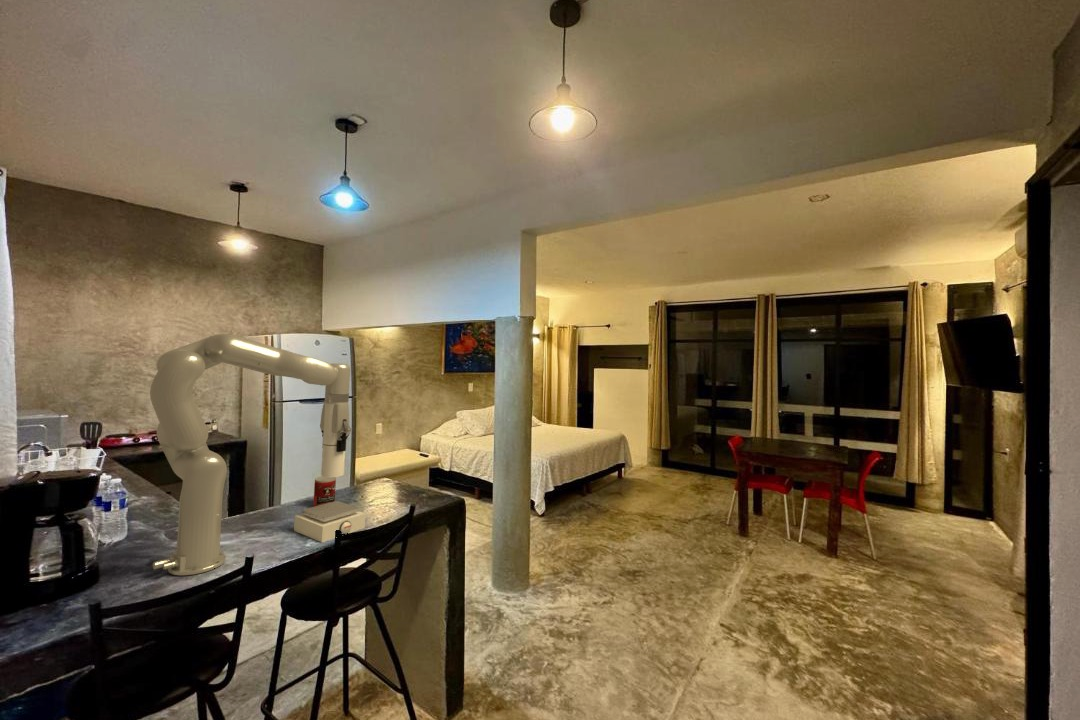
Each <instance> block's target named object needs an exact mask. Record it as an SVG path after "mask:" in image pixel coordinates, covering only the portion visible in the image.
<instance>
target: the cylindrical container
mask: <svg viewBox="0 0 1080 720" xmlns="http://www.w3.org/2000/svg"><path fill="white" fill-rule="evenodd" d="M333 408H334V404H327V403H325V416H324V434H323V437H322V447H323V448H322V455H321V470H320V471H321V472H320V477H321V476H322V477H329V478H331V477H336V478H338V477H342V476H344V475H345V460H346V458H345V457H346V451H342V452H337V451H336V448H337V440H338V436H337V433H333V432H331V431H332V415H333ZM340 431H344V427H343V425H342V428H341V430H340ZM342 434H343V433H341V435H342Z"/></svg>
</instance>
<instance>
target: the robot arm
mask: <svg viewBox="0 0 1080 720" xmlns="http://www.w3.org/2000/svg"><path fill="white" fill-rule="evenodd" d="M219 364H227V365H231V366H235V367H238V368H244V369H246V370H251V371H255V372H257V373H258V372H259V373H261V374H267V375H272V376H277V377H287V378H292V379H297V380H301V381H303V382H304V383H306V384H310V385H316V386H317V385H318V386H325V387H324V388H325V389H324V390H325V391H324V392H325V393H324V402H323V405H322V409H321V414H320V424H319V428H320V430H321V431H320V432H321V434H322V438H323V434H324V416H325V403H327V404H334V408H333V415H332V431H331V432H333V433H337V436H338V440H337V448H336V451H337V452H342V451H345V452H346V450H347V440H348V437H349V436H350V433H351V432H352V428H351V426H350V407H349V398H350V395H349V394H350V381H351V378H350V377H351V367H350V365H349V364H348V363H347V364H346V363H335V362H334V363H329V362H326V361H323V360H321V359H317V358H313V357H310V356H307V355H302V354H300V353H299V354H298V353H296V352H292V351H289V350H286V349H281V348H279V347H276V346H272V345H268V344H266V343H262V342H258V341H256V340H252V339H249V338H246V337H242V336H238V335H235V334H230V333H225V334H224V333H222V334H214V335H210V336H209V337H205V338H203V339H200V340H197V341H195V342H190V343H189V344H185V345H182V346H179V347H178V348H174V349H171V350H168V351H166V352H165V353H163V354H161V356H160V357H159V358H158V359H157V362H156V370H157V372H156V374H155V375H154V377H153V379H152V383H151V385H150V388H149V389H150V391H149V396H150V402H151V404H152V407H153V410H154V412H155V415H156V418H157V420H158V422H159V424H158V425H157V428H156V436H157V440H158V443H159V445H160V447H161V449H162V451H163V454H164V455H165V457H166V460H167V462H168V464H169V465H170V468H171V469H172V472H173V473H174V475H176V476H177V477H178V478H180V480H182V486H181V491H180V494H179V495H180V496H179V502H178V503H179V505H178V523H177V525H178V526H177V540H176V551H172V552H171V555H170V556H168V557H167V558H165V559H159V560H157V561H154V562H152V569H153V570H154V571H155V570H158V569H161V568H162V569H163V570H167V572H168V573H169V574H170V575H172V576H191V575H197V574H202V573H205V572H209V571H212V570H215V569H217V568H219V567H220V566H222V565H223V564H224V563H225V562H226V561H227V560H226V559H227V555H226V554H225V553H224V552H220V549H221V547H220V546H221V535H222V534H221V532H222V531H221V530H222V513H223V498H224V497H223V496H224V487H225V483H226V478H227V474H228V473H227V472H228V467H227V463H226V461H225V459H224V458H223V457H222V456H221V455H220V454H219V453H217V452H214V451H212V450H210V449H209V447H208V445H207V441H208V438H209V429H208V426H207V424H206V423H205V421H204V419H203V417H202V415H201V412H200V410H199V407H198V405H197V403H196V400H195V397H194V394H193V389H194V385H195V384H196V382H197V380H198V379H200V377H201V376H203V374H204V372H205V370H208V369H210V368H213V367H216V366H217V365H219ZM342 425H343V427H344V431H340V430H341V428H342ZM341 433H343V434H342V435H341ZM322 449H323V446H322ZM214 568H215V569H214Z"/></svg>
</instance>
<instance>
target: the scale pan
mask: <svg viewBox="0 0 1080 720" xmlns="http://www.w3.org/2000/svg"><path fill="white" fill-rule="evenodd" d="M356 512H360V507H358V506H354V505H351V504H348V503H345V502H343V501H339V500H335V501H334V502H330V503H327V504H323V505H319V506H315V507H314V506H312V507H308V508H304V509H301V514H305V515H307V516H310V517H313V518H315V519H318V520H321V521H323V522H326V521H330V520H333V519H336V518H340V517H343V516H346V515H349V514H353V513H356Z"/></svg>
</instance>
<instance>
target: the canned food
mask: <svg viewBox="0 0 1080 720" xmlns="http://www.w3.org/2000/svg"><path fill="white" fill-rule="evenodd" d="M336 482H337V477H331V478H329V477H322V476H321V475H320V476H319V477H316V478H315V479H314V484H313V485H314V488H313V507H315V506H319V505H323V504H327V503H330V502H334V501H336V488H337V487H336V486H337V485H336Z"/></svg>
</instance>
